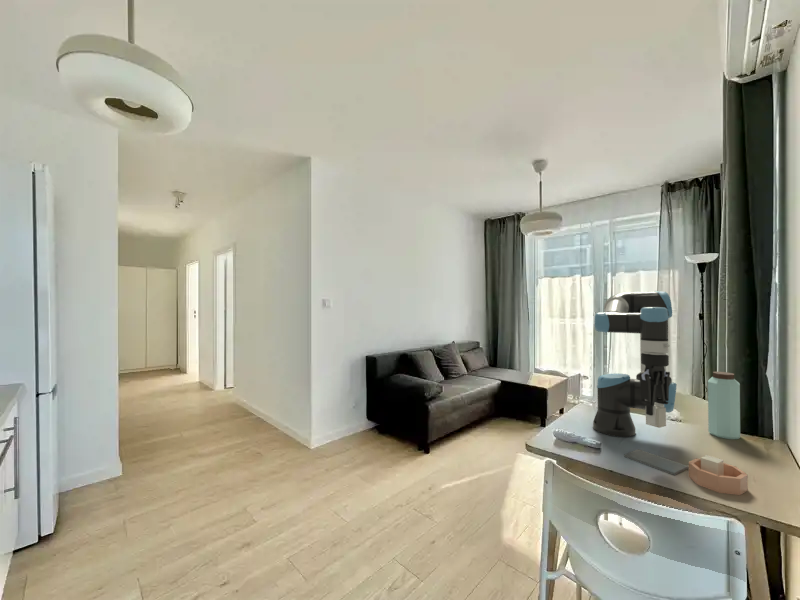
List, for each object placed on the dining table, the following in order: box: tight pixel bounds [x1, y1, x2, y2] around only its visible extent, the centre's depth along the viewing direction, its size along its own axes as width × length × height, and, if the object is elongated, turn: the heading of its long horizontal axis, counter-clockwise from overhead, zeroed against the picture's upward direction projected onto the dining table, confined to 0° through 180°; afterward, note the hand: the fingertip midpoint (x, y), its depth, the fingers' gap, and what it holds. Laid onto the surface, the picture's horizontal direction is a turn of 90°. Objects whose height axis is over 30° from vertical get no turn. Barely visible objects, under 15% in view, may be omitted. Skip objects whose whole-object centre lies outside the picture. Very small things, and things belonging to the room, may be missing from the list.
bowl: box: [688, 458, 749, 496], centre depth 105 cm, size 12×12×4 cm
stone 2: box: [700, 454, 725, 476], centre depth 105 cm, size 4×4×6 cm
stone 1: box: [646, 406, 667, 428], centre depth 117 cm, size 4×4×6 cm
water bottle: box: [707, 371, 741, 440], centre depth 140 cm, size 10×10×25 cm
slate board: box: [623, 448, 689, 476], centre depth 118 cm, size 15×9×1 cm, turn 29°
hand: (655, 423), depth 117 cm, fingers closed on stone 1, 4 cm apart
